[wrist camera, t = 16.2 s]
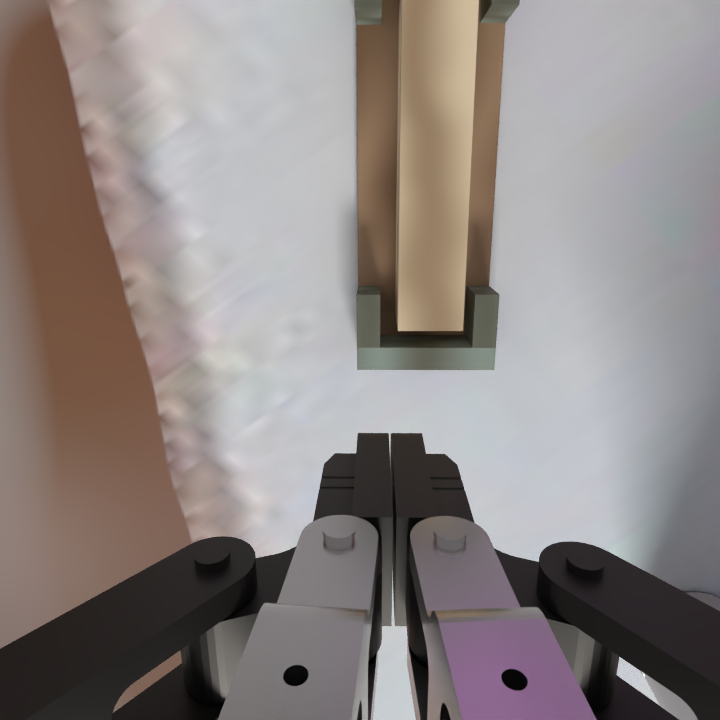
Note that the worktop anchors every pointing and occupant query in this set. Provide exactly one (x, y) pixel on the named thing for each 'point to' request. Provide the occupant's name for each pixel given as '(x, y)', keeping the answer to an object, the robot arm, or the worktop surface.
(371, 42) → the holder
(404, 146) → the slat
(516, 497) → the worktop surface
